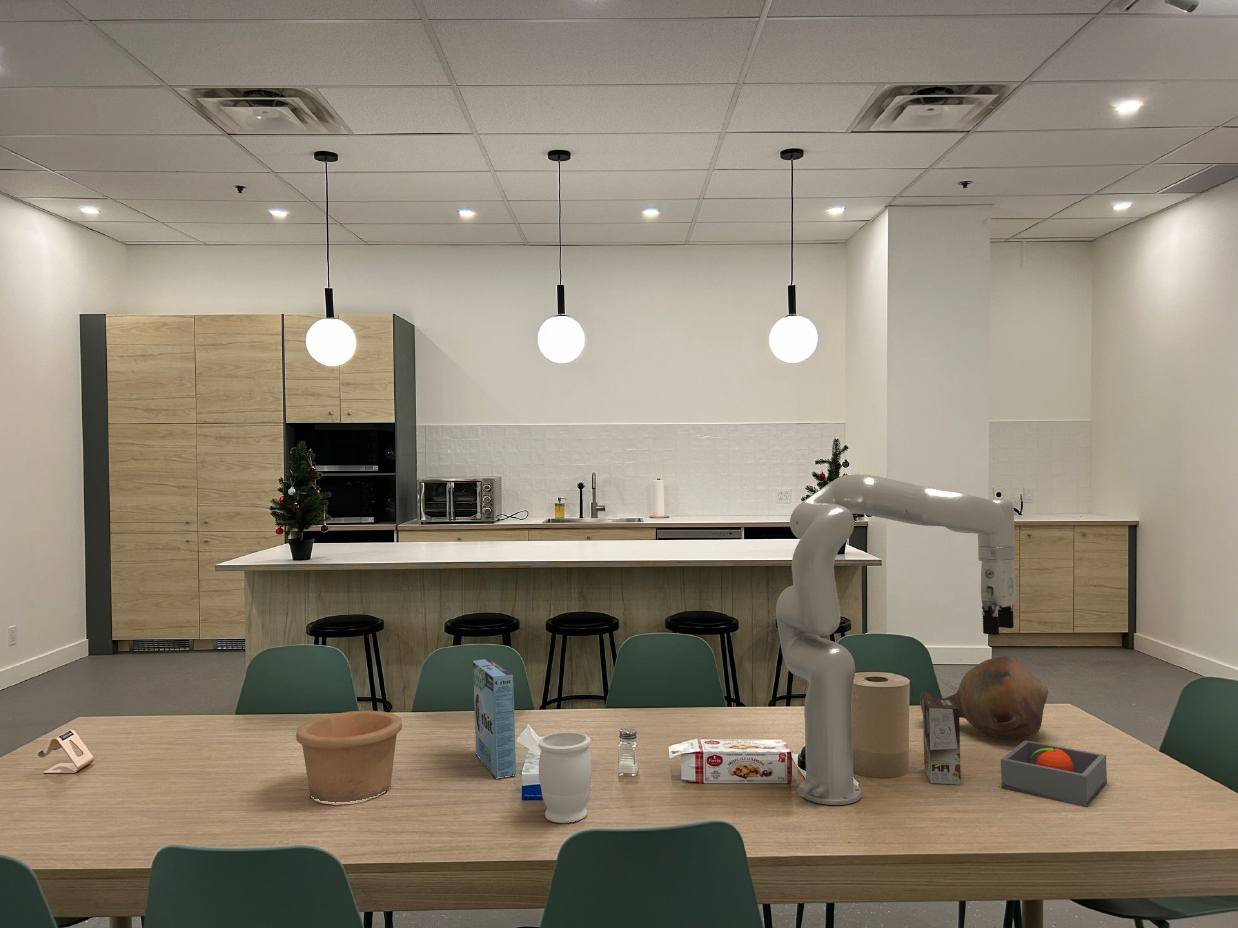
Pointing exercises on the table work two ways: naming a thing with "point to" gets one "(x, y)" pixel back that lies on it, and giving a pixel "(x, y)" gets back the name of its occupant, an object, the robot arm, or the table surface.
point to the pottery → (349, 754)
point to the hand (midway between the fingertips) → (998, 630)
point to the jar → (565, 775)
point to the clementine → (1054, 759)
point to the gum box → (494, 717)
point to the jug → (1001, 698)
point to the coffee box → (941, 740)
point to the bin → (1054, 774)
